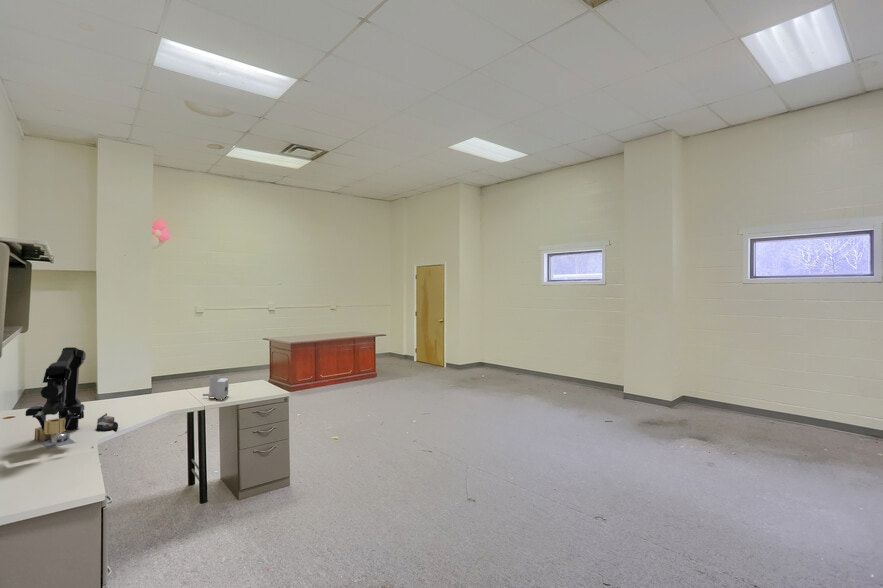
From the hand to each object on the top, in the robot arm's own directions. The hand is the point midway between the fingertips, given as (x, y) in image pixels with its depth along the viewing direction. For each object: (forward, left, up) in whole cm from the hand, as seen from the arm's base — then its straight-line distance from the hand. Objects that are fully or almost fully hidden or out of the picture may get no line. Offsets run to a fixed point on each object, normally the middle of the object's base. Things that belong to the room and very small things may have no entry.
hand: (54, 429), depth 191 cm
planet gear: (0, 0, -1) cm, 1 cm away
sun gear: (-6, +4, -7) cm, 10 cm away
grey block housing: (-44, +94, -9) cm, 104 cm away
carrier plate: (-6, +2, -8) cm, 11 cm away
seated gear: (-13, 0, -7) cm, 14 cm away
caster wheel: (-12, +24, -9) cm, 28 cm away
